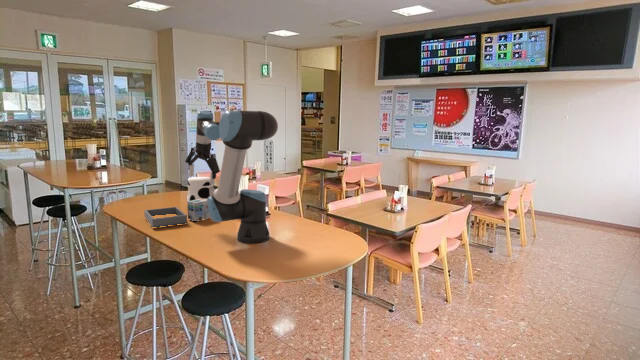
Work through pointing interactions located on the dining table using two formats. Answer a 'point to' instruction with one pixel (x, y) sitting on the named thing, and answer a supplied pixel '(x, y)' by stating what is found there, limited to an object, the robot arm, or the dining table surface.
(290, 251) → the dining table surface
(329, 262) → the dining table surface
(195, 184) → the milk container
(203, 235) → the dining table surface
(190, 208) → the light bulb box
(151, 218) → the grey bin
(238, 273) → the dining table surface
